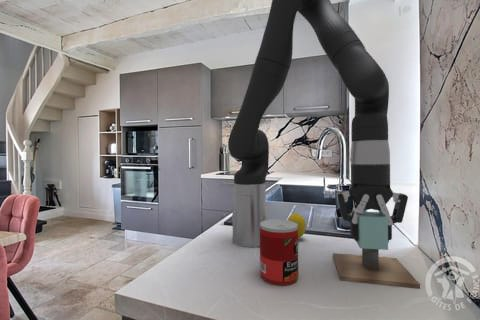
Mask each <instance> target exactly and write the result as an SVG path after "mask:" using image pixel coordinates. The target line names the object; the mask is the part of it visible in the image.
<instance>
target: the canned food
mask: <svg viewBox="0 0 480 320" xmlns="http://www.w3.org/2000/svg"><path fill="white" fill-rule="evenodd" d="M259 266H260V267H259V270H260V271H259V272H260V275H261V278H262V279H263V280H264V281H265V282H267V283H269V284H272V285H276V286H287V285H288V286H289V285H292V284H294V283H296V282H297V280H298V278H299V238H298V225H297V224H296V223H295V222H292V221H289V220H288V219H277V218H275V219H273V218H272V219H266V220H265V221H262V222H261V223H260V246H259Z"/></svg>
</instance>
